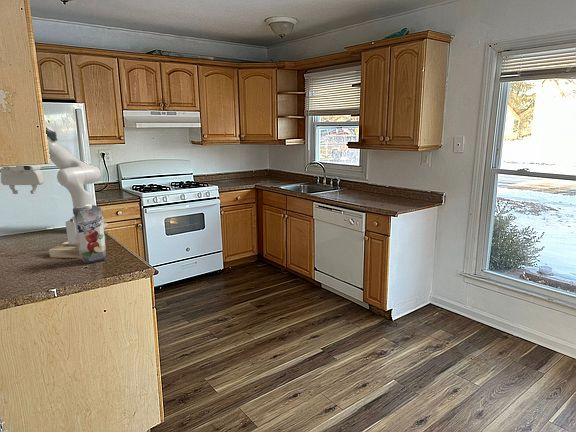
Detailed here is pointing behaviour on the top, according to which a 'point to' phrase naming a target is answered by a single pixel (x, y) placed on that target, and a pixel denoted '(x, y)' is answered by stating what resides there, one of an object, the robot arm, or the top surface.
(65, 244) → the birch stand
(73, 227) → the square capped bottle
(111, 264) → the top surface
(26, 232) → the top surface
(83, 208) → the juice carton
